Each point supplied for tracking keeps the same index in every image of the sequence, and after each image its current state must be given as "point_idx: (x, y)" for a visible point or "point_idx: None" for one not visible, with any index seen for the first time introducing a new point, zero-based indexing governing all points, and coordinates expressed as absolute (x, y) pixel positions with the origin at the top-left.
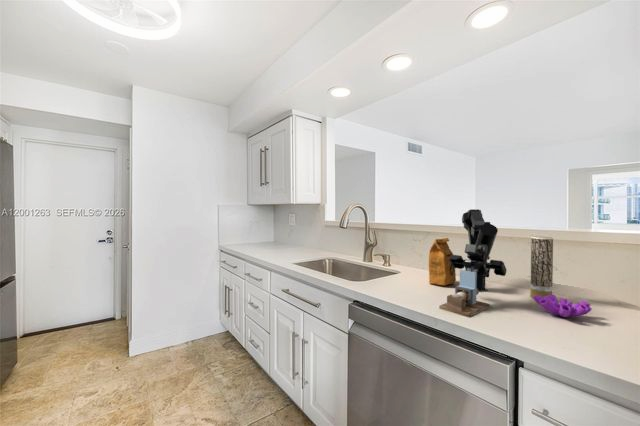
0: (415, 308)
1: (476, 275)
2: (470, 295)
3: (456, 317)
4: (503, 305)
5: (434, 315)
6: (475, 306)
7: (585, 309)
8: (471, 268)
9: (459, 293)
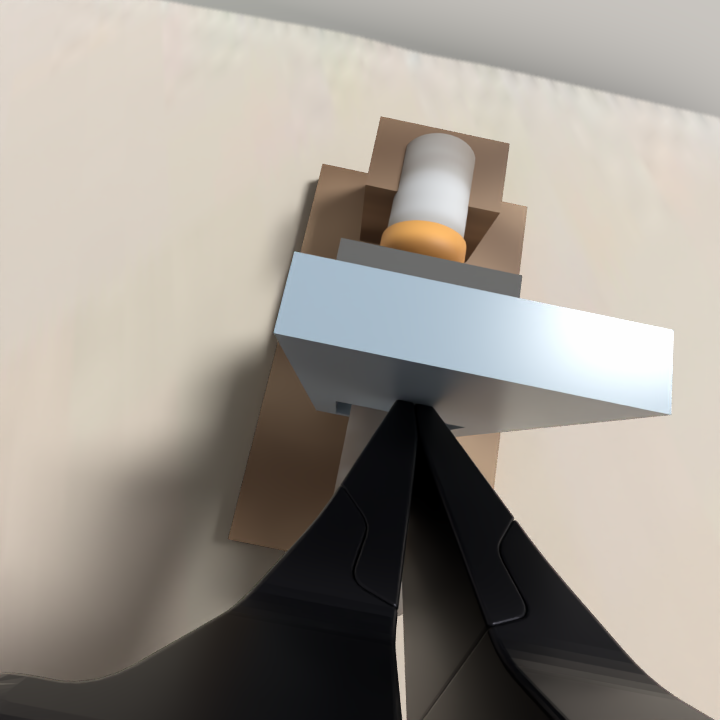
0: (625, 127)
1: (285, 348)
2: None
3: None
4: None
5: (489, 86)
6: None
7: None
8: (491, 692)
9: (432, 198)
